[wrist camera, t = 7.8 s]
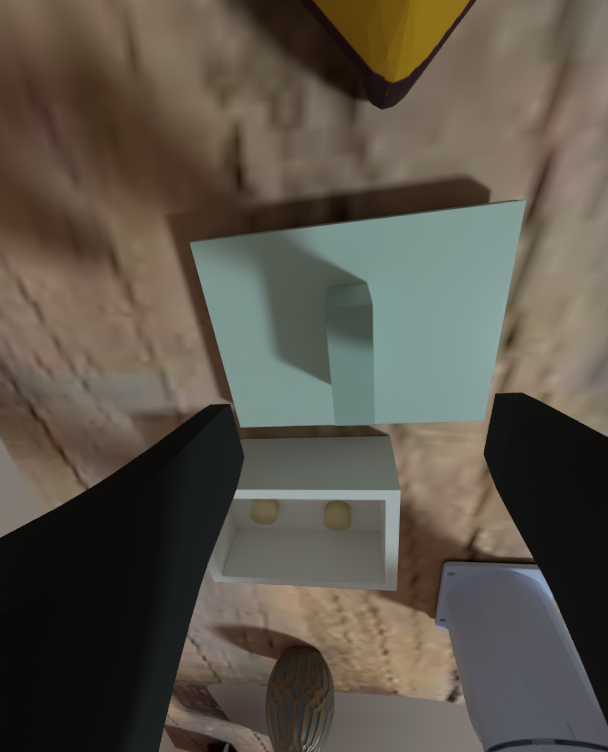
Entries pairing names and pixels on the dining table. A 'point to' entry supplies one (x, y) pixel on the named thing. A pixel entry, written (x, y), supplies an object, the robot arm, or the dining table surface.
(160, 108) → the dining table surface
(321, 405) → the lid
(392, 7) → the decorative lantern
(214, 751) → the alarm clock
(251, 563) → the tub
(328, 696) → the vase
